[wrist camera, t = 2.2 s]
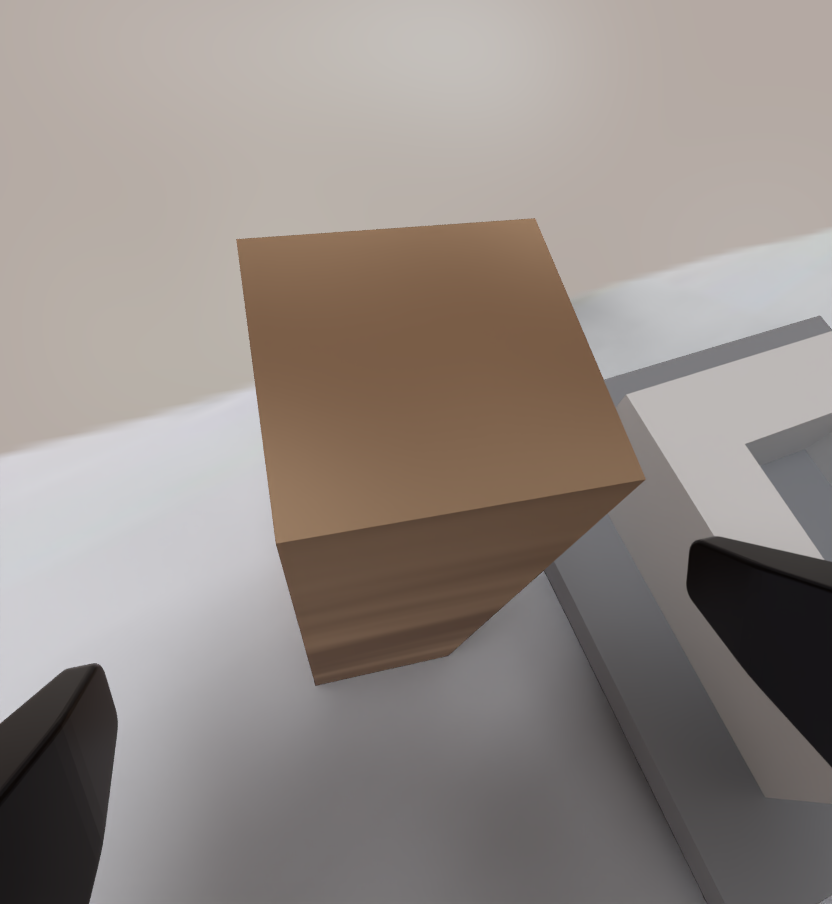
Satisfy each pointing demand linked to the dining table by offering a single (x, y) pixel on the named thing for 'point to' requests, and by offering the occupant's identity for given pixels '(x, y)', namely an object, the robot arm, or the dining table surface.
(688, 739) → the socket board
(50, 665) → the dining table surface
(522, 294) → the walnut peg
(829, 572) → the robot arm
